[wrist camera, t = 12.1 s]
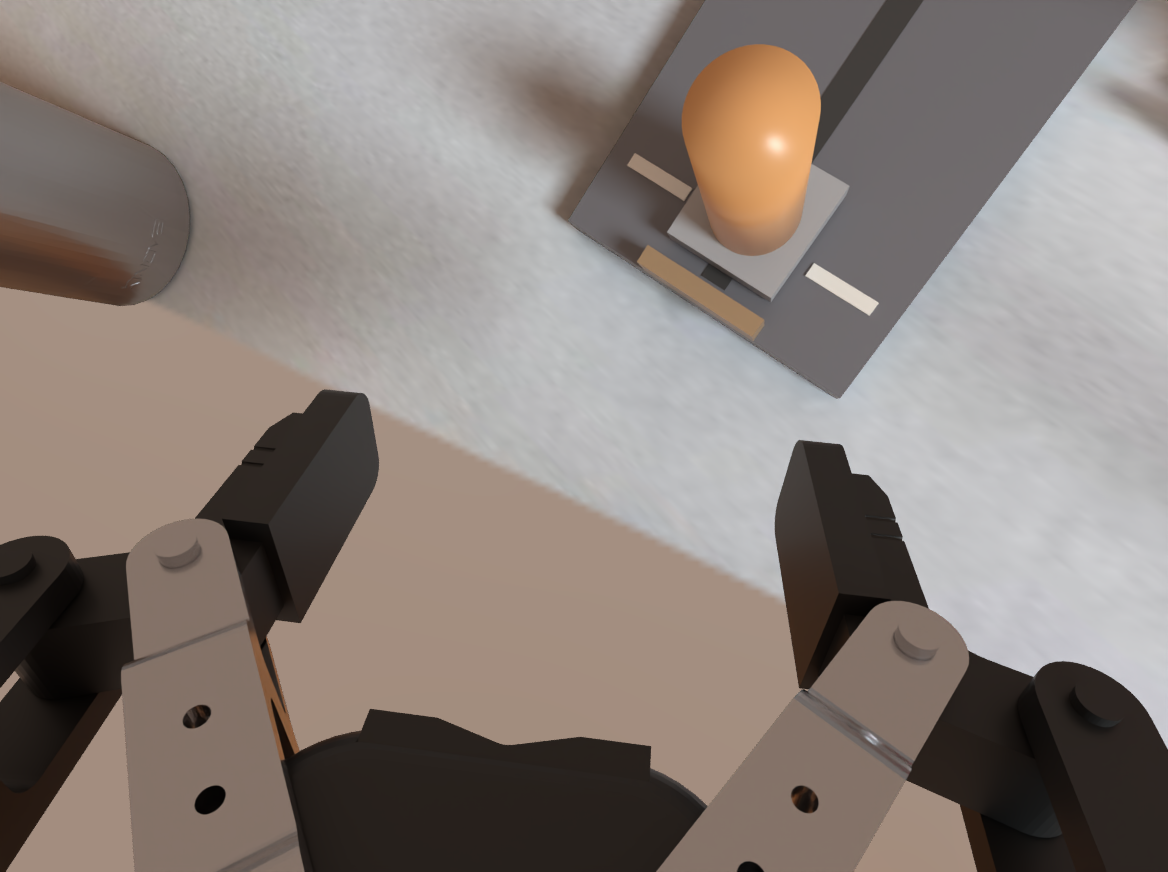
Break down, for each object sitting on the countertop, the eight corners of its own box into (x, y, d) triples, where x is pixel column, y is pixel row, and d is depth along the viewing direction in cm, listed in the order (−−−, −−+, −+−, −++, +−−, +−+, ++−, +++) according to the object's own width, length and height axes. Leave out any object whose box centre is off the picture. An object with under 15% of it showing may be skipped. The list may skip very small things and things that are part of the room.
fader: (670, 239, 29) (621, 151, 19) (740, 133, 28) (725, -17, 18) (770, 302, 28) (772, 244, 18) (846, 195, 27) (891, 72, 17)
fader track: (576, 229, 32) (555, 209, 29) (829, -173, 28) (837, -247, 25) (836, 398, 29) (844, 397, 26) (1150, -23, 26) (1204, -84, 22)
